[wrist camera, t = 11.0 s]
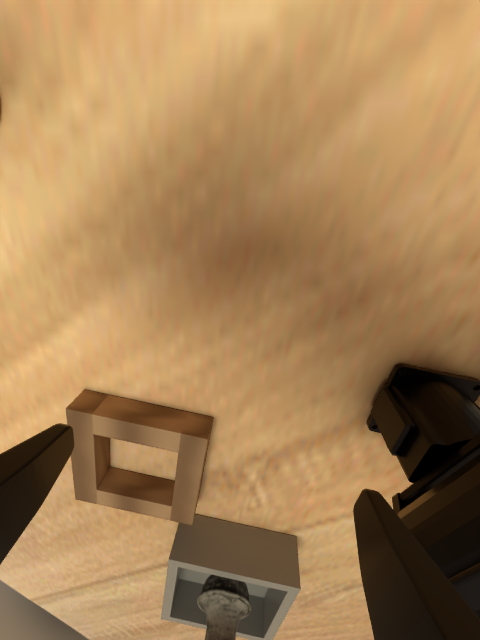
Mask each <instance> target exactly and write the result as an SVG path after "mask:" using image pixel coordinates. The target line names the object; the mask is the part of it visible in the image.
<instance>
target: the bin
mask: <svg viewBox="0 0 480 640" xmlns="http://www.w3.org/2000/svg"><path fill="white" fill-rule="evenodd" d="M211 574H212V575H216V576H220V577H225V578H229V579H234V580H238V581H243V582H245V583H246V585H247V588H248V593H249V602H250V604H251V606H252V611H251V613H250V614H249V615H248V616H247V617H245V618H242V619H240V620H239V623H238V627H237V631H236V636H238V637H242V638H246V639H251V640H273V638H274V636H275V634H276V633H277V631H278V629H279V627H280V625H281V624H282V622H283V620H284V618H285V616H286V614H287V613H288V611H289V609H290V607H291V605H292V604H293V602H294V600H295V598H296V596H297V595H298V593H299V591H300V589H301V588H300V575H299V563H298V550H297V537H296V536H292V535H287V534H283V533H278V532H274V531H269V530H265V529H260V528H256V527H251V526H247V525H242V524H238V523H233V522H229V521H224V520H220V519H215V518H211V517H206V516H202V515H197V514H195V515H194V519H193V523H192V525H189V524H184V523H180V522H179V525H178V529H177V532H176V536H175V539H174V543H173V546H172V550H171V554H170V557H169V562H168V570H167V577H166V584H165V592H164V599H163V607H162V614H161V619H164V620H168V621H172V622H177V623H181V624H185V625H190V626H194V627H198V628H203V629H207V619H206V613H205V612H204V611H202V610H201V609H200V607H199V606H198V604H197V598H198V596H199V595H200V594H201V591H202V588H203V585H204V583H205V581H206V579H207V578H208V577H209V576H210V575H211Z"/></svg>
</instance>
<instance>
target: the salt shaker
mask: <svg viewBox="0 0 480 640" xmlns="http://www.w3.org/2000/svg"><path fill="white" fill-rule="evenodd" d="M197 604H198V606H199V607H200V609H201V610H202V611H204V612H205V613H206V619H207V629H206V636H205V640H235V637H236V631H237V627H238V623H239V620H240V619H242V618H245V617H247V616H248V615H249V614H250V613H251V611H252V606H251V604H250V602H249V593H248V588H247V585H246V583H245V582H243V581H238V580H234V579H229V578H225V577H220V576H216V575H212V574H211V575H210V576H209V577H208V578H207V579H206V581H205V583H204V585H203V588H202V591H201V594H200V595H199V596H198V598H197Z"/></svg>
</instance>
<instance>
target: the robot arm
mask: <svg viewBox="0 0 480 640" xmlns="http://www.w3.org/2000/svg"><path fill="white" fill-rule="evenodd" d="M401 370H404V371H403V372H400V371H401ZM474 386H475V387H474ZM479 395H480V381H479V380H477V379H473V378H469V377H464V376H459V375H454V374H449V373H445V372H440V371H435V370H430V369H426V368H421V367H416V366H411V365H406V364H398V365H396V366H395V367H394V369H393V371H392V373H391V375H390V377H389V379H388V381H387V383H386V385H385V387H384V388H383V389H382V391H381V393H380V395H379V397H378V399H377V401H376V403H375V405H374V407H373V409H372V411H371V415H370V417H369V419H368V421H367V426H368V428H369V430H370V431H374V432H378V433H381V434H382V436H383V438H384V440H385V442H386V445H387V447H388V449H389V451H390V452H391V454H392V455H394V456H397V458H398V460H399V462H400V464H401V466H402V468H403V470H404V472H405V474H406V476H407V478H408V480H409V482H411V483H413V484H412V485H411V486H409V487H408V488H407V489H405V490H404V491H403V492H401V493H397V494H396V495H394V496H393V497H392V502H393V509H392V508H391V506H390V505H389V504H388V503H387V501H386V500H385V499H384V498H383V496H382V495H381V494H380V493H379V492H377V491H374V490H369V489H364V490H362V492H361V494H360V496H359V497H358V499H357V501H356V503H355V505H354V510H353V513H354V522H355V530H356V538H357V547H358V555H359V563H360V570H361V577H362V582H363V587H364V592H365V597H366V601H367V606H368V611H369V616H370V620H371V625H372V630H373V635H374V639H375V640H480V407H479V406H478V405H477V404H476V403H475V401H476V399H477V398H478V397H479ZM374 424H375V425H374ZM372 425H374V426H372ZM74 444H75V443H74V434H73V428H72V426H70V425H66V424H61V423H59V424H55V425H53V426H52V427H50V428H48V429H46V430H44V431H42V432H40V433H39V434H37V435H35V436H33V437H31V438H29V439H27V440H26V441H24V442H22V443H20V444H18V445H16V446H14V447H13V448H11V449H9V450H7V451H5V452H3V453H2V454H0V564H1V563H2V561H3V560H4V558H5V557H6V556H7V554H8V553H9V551H10V550H11V548H12V547H13V546H14V544H15V543H16V541H17V540H18V538H19V537H20V536H21V534H22V533H23V531H24V530H25V528H26V527H27V526H28V524H29V523H30V521H31V520H32V518H33V517H34V516H35V514H36V513H37V511H38V510H39V508H40V507H41V505H42V504H43V502H44V500H45V499H46V497H47V495H48V494H49V492H50V490H51V488H52V487H53V485H54V483H55V481H56V480H57V478H58V476H59V475H60V473H61V471H62V469H63V468H64V466H65V464H66V462H67V461H68V459H69V457H70V455H71V454H72V452H73V449H74Z"/></svg>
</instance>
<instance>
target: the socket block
mask: <svg viewBox="0 0 480 640" xmlns="http://www.w3.org/2000/svg"><path fill="white" fill-rule="evenodd" d="M66 416H67V425H70V426H72V428H73V434H74V443H75V444H74V449H73V452H72V454H71V461H72V471H73V480H74V489H75V498H76V500H81V501H85V502H90V503H94V504H99V505H103V506H108V507H112V508H117V509H121V510H126V511H130V512H135V513H139V514H144V515H148V516H153V517H157V518H162V519H166V520H171V521H175V522H180V523H184V524H189V525H192V523H193V519H194V515H195V511H196V507H197V502H198V498H199V492H200V487H201V482H202V476H203V471H204V465H205V460H206V455H207V449H208V444H209V438H210V433H211V428H212V422H213V417H210V416H205V415H201V414H196V413H191V412H187V411H182V410H177V409H173V408H168V407H163V406H159V405H154V404H149V403H145V402H140V401H135V400H131V399H126V398H121V397H117V396H112V395H107V394H103V393H98V392H94V391H89V390H83V391H82V393H81V394H80V395H79V396H78V397H77V398H76V399H75V400H74V401H73V402H72V403H71V404H70V405H69V406H68V407H67V408H66ZM109 438H114V439H118V440H123V441H127V442H132V443H137V444H141V445H146V446H150V447H155V448H159V449H164V450H169V451H173V452H178V461H177V469H176V477H175V481H172V480H167V479H162V478H158V477H153V476H149V475H144V474H140V473H135V472H131V471H126V470H122V469H117V468H112V467H110V439H109Z"/></svg>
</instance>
